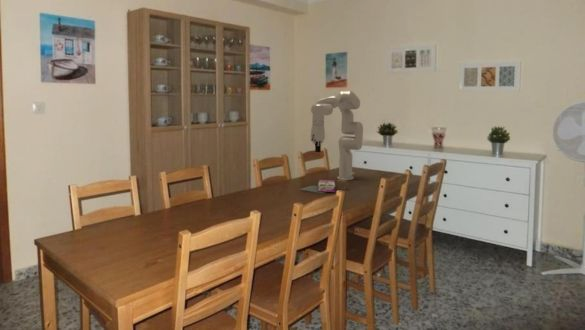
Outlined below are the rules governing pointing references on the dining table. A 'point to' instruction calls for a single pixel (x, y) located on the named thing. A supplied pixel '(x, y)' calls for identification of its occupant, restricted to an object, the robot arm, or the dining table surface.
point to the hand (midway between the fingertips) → (317, 151)
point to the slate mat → (312, 189)
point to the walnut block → (341, 184)
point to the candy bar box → (326, 185)
